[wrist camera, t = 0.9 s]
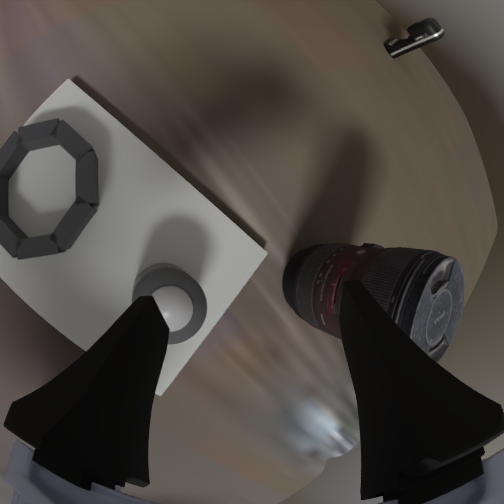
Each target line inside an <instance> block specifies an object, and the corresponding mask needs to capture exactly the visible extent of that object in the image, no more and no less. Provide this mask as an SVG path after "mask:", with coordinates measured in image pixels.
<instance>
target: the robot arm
mask: <svg viewBox="0 0 504 504" xmlns="http://www.w3.org/2000/svg"><path fill="white" fill-rule="evenodd" d="M339 324H340V331H341V337H342V343H343V347H344V351H345V355H346V358H347V362H348V366H349V370H350V374H351V378H352V382H353V386H354V390H355V394H356V400H357V406H358V415H359V426H360V440H361V489H360V492H361V500H366V499H371V498H376V497H380V496H383V502H382V503H378V504H504V448H503V449H502V450H500V451H498V452H497V453H495V454H494V455H492V456H490V457H488V458H487V459H484V460H482V461H481V456H483V455H484V453H485V451H484V447H483V446H484V445H486V444H488V443H489V442H491V441H492V440H494V439H496V438H497V437H498V436H500V435H501V434H503V433H504V412H503V409H502V407H501V405H500V404H498V403H496V402H494V401H493V400H491V399H489V398H487V397H485V396H484V395H482V394H480V393H478V392H477V391H475V390H473V389H472V388H470V387H469V386H467V385H466V384H464V383H463V382H461V381H460V380H458V379H457V378H456V377H454V376H453V375H452V374H451V373H449V372H448V371H447V370H445V369H444V368H443V367H441V366H440V365H439V364H438V363H437V362H435V361H434V360H433V359H432V358H431V357H430V356H428V355H427V354H426V353H425V352H424V351H423V350H422V349H421V348H420V347H419V346H418V345H417V344H416V343H415V342H414V341H413V340H412V339H411V338H410V337H409V336H408V335H407V334H406V333H405V332H404V331H403V330H402V329H401V328H400V327H399V326H398V325H397V324H396V322H395V321H394V320H393V319H392V318H391V317H390V316H389V314H388V313H387V312H386V311H385V310H384V309H383V308H382V306H381V305H380V304H379V303H378V302H377V300H376V299H375V298H374V297H373V296H372V294H371V293H370V292H369V291H368V289H367V288H366V287H365V286H364V285H363V283H362V282H361V281H360V280H352V281H343V286H342V296H341V305H340V314H339ZM169 332H170V329H169V327H168V325H167V323H166V321H165V319H164V317H163V315H162V313H161V311H160V309H159V307H158V305H157V303H156V301H155V299H154V297H153V296H139V297H138V298H137V299H136V300H135V301H134V302H133V303H132V304H131V305H130V306H129V307H128V308H127V309H126V310H125V312H124V313H123V314H122V315H121V316H120V317H119V318H118V319H117V320H116V321H115V322H114V323H113V324H112V325H111V327H110V328H109V329H108V330H107V331H106V332H105V333H104V334H103V335H102V336H101V337H100V338H99V339H98V340H97V341H96V342H95V343H94V344H93V345H92V346H91V347H90V348H89V349H88V350H87V351H86V352H85V353H84V354H83V355H82V356H81V357H80V358H79V359H78V360H76V361H75V362H74V363H73V364H72V365H71V366H69V367H68V368H67V369H66V370H64V371H63V372H62V373H60V374H59V375H58V376H56V377H55V378H54V379H52V380H51V381H50V382H48V383H47V384H45V385H44V386H42V387H40V388H39V389H37V390H35V391H34V392H32V393H30V394H28V395H26V396H24V397H22V398H20V399H18V400H16V401H14V402H13V403H12V404H11V406H10V409H9V411H8V414H7V416H6V419H5V422H4V427H5V428H7V429H8V430H9V431H11V432H12V433H14V434H15V435H16V436H18V437H19V438H21V439H22V440H24V441H25V442H27V443H28V444H30V445H31V446H33V447H34V448H35V451H34V450H33V449H31V448H29V447H28V446H26V445H25V444H23V443H22V442H20V441H18V440H17V439H16V440H15V442H14V445H13V448H12V451H11V455H10V458H9V462H8V465H7V469H6V473H5V477H4V479H5V481H6V482H7V483H9V484H10V485H11V486H12V487H13V488H14V493H13V498H12V503H11V504H158V503H154V502H150V501H147V500H143V499H140V498H137V497H134V496H130V495H127V494H125V493H122V492H121V487H124V486H125V482H127V483H130V484H133V485H137V486H140V487H146V486H147V485H149V484H150V481H149V468H148V440H149V427H150V418H151V410H152V404H153V399H154V395H155V391H156V387H157V384H158V380H159V377H160V373H161V370H162V366H163V363H164V359H165V355H166V352H167V346H168V339H169Z"/></svg>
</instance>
